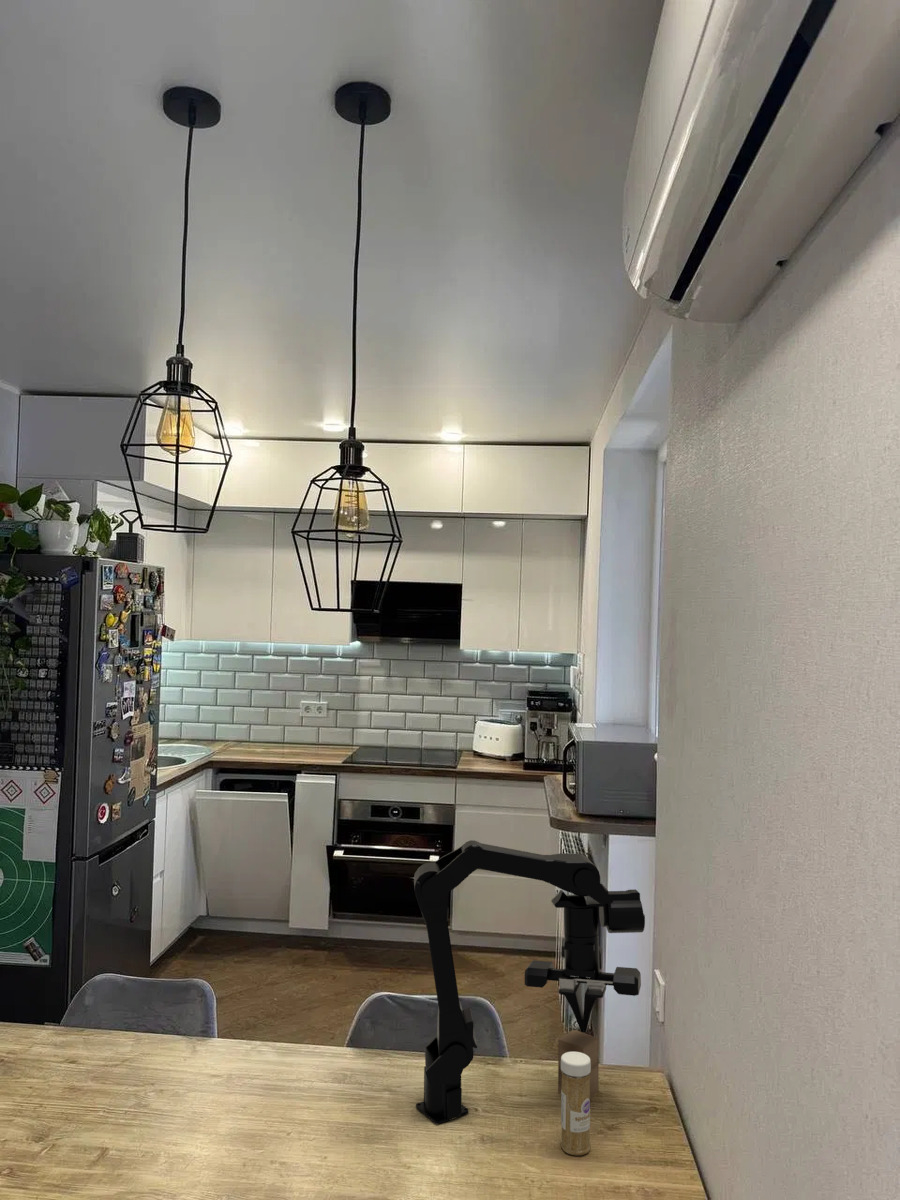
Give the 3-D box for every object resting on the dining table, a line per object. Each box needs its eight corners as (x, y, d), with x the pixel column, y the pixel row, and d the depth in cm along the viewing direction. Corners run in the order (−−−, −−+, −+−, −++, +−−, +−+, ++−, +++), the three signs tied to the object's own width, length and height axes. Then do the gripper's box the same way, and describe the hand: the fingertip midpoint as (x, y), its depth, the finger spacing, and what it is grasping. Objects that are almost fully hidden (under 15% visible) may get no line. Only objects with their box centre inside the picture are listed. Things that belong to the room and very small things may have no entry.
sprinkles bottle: (584, 1160, 126) (584, 1066, 127) (555, 1151, 128) (556, 1059, 129) (594, 1145, 130) (594, 1054, 131) (567, 1136, 132) (567, 1047, 133)
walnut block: (558, 1093, 145) (558, 1039, 146) (573, 1082, 149) (573, 1029, 150) (583, 1103, 142) (583, 1047, 143) (598, 1091, 146) (598, 1038, 146)
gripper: (641, 925, 147) (645, 1020, 145) (536, 918, 152) (537, 1010, 150) (636, 942, 136) (640, 1044, 134) (522, 934, 142) (524, 1032, 140)
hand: (584, 1031), depth 140 cm, fingers closed
